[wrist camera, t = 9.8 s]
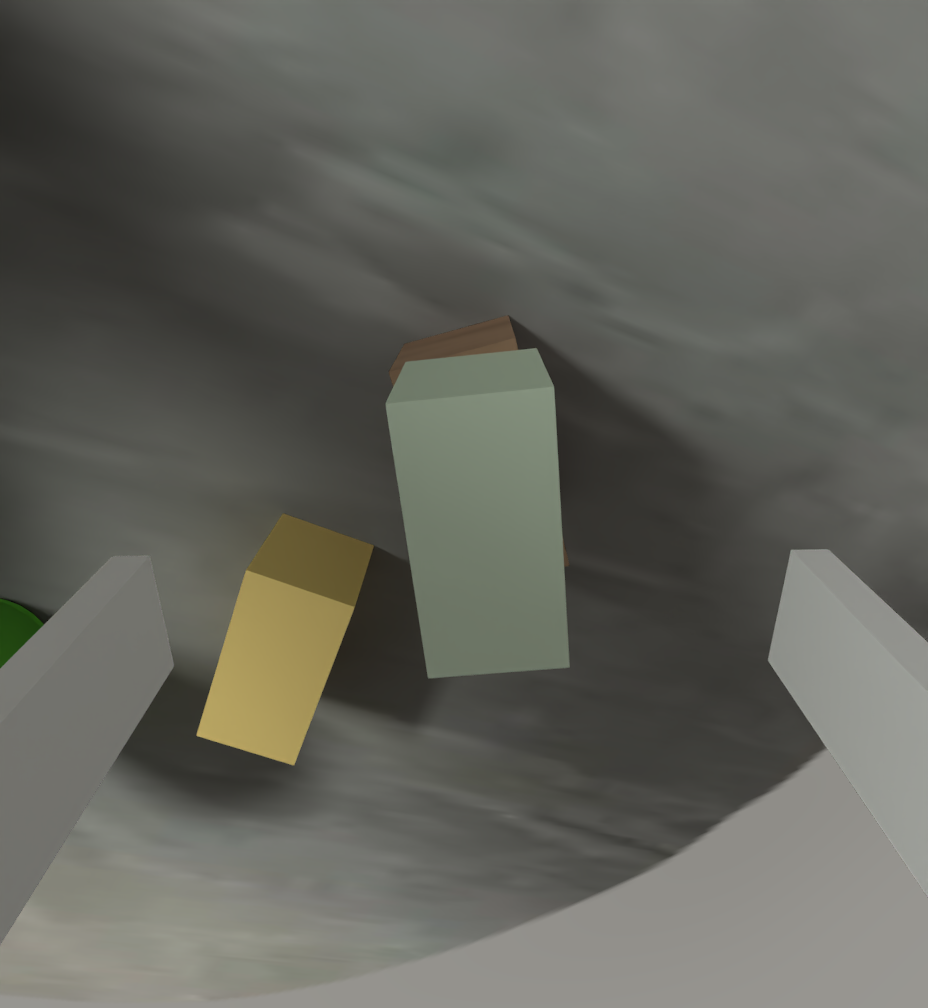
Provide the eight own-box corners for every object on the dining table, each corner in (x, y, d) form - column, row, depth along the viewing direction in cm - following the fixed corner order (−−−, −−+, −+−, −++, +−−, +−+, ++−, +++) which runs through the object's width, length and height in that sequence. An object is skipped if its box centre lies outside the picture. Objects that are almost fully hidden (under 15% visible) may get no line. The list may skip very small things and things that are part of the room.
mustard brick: (320, 685, 32) (293, 765, 27) (237, 658, 31) (196, 735, 27) (374, 544, 29) (354, 607, 24) (283, 512, 28) (245, 570, 24)
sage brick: (551, 579, 24) (569, 667, 19) (437, 588, 24) (427, 678, 19) (536, 347, 20) (554, 386, 16) (405, 361, 21) (385, 403, 16)
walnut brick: (554, 507, 28) (569, 565, 23) (460, 529, 28) (457, 590, 24) (508, 314, 25) (515, 337, 20) (404, 343, 25) (388, 372, 21)
